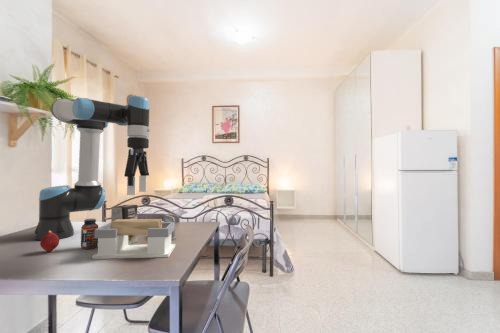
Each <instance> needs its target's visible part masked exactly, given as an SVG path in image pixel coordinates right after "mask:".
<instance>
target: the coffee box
mask: <svg viewBox="0 0 500 333" xmlns="http://www.w3.org/2000/svg"><path fill="white" fill-rule="evenodd" d="M110 218H111V219H110V223H111V222H113V221H115V220H120V219H138V204H123V205H116V206H111V216H110ZM137 242H138V235H128V245H133V244H135V243H137Z"/></svg>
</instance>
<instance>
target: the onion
mask: <svg viewBox="0 0 500 333" xmlns="http://www.w3.org/2000/svg"><path fill="white" fill-rule="evenodd" d="M39 241H40V243H39V244H40V247H41V248H42V250H44V251H45V252H48V253H50V252H52V251H54V250H55V249H56V248H57V247H59V244H60V239H59V238H58V236H57V235H56V234H54V233H52V232H51V231H48V234H46V235H45V236H44V237H43V238H42V239H41V240H39Z"/></svg>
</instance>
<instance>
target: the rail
mask: <svg viewBox="0 0 500 333" xmlns="http://www.w3.org/2000/svg"><path fill="white" fill-rule="evenodd" d="M162 222H163V219H162V218H145V219H144V218H142V219H141V218H139V219H138V218H137V219H120V220H115V221H113V222H111V221H110V223H111V229H117V235H137V236H148V228H162Z"/></svg>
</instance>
